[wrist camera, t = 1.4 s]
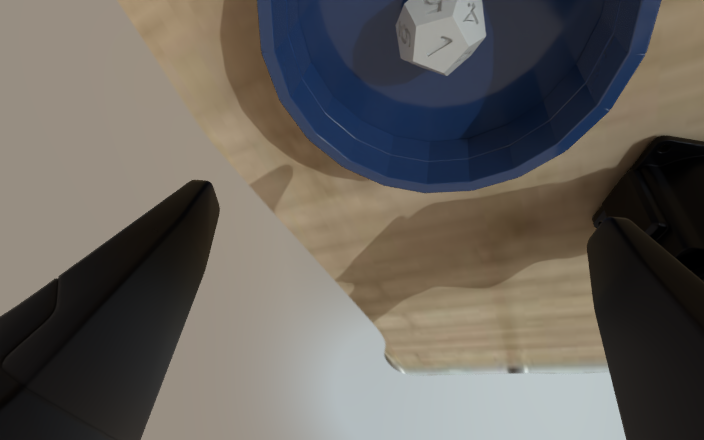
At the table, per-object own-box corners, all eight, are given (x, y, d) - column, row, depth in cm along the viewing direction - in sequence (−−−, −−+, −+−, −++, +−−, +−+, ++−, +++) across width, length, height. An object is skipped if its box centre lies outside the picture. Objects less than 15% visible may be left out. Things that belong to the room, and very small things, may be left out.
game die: (382, 7, 18) (373, 33, 15) (461, -51, 16) (462, -29, 13) (423, 71, 19) (419, 103, 17) (498, 28, 17) (504, 57, 15)
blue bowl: (724, -191, 12) (803, -191, 9) (532, 165, 22) (543, 215, 20) (280, -245, 13) (234, -259, 10) (291, 123, 23) (269, 165, 20)
